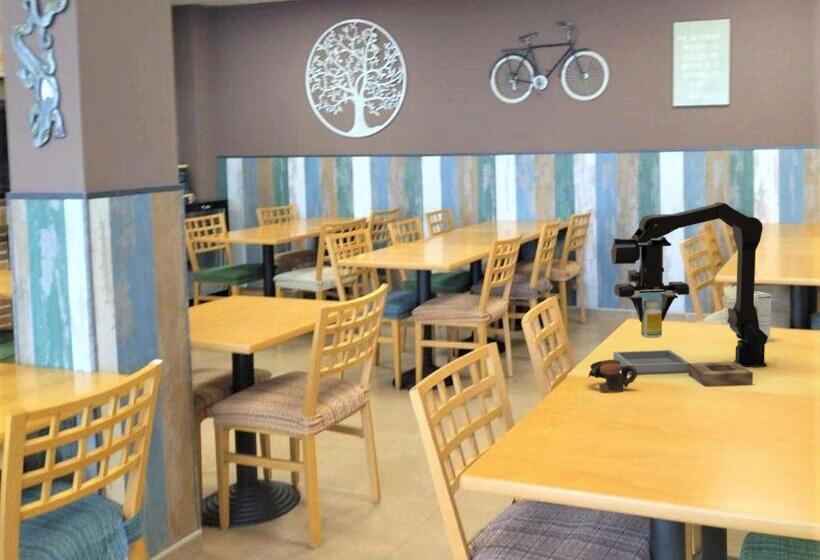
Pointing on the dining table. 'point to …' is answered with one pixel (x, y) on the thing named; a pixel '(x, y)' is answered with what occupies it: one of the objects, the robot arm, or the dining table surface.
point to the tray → (653, 361)
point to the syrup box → (763, 311)
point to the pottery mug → (612, 375)
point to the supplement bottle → (651, 319)
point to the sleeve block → (720, 373)
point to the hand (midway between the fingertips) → (651, 321)
